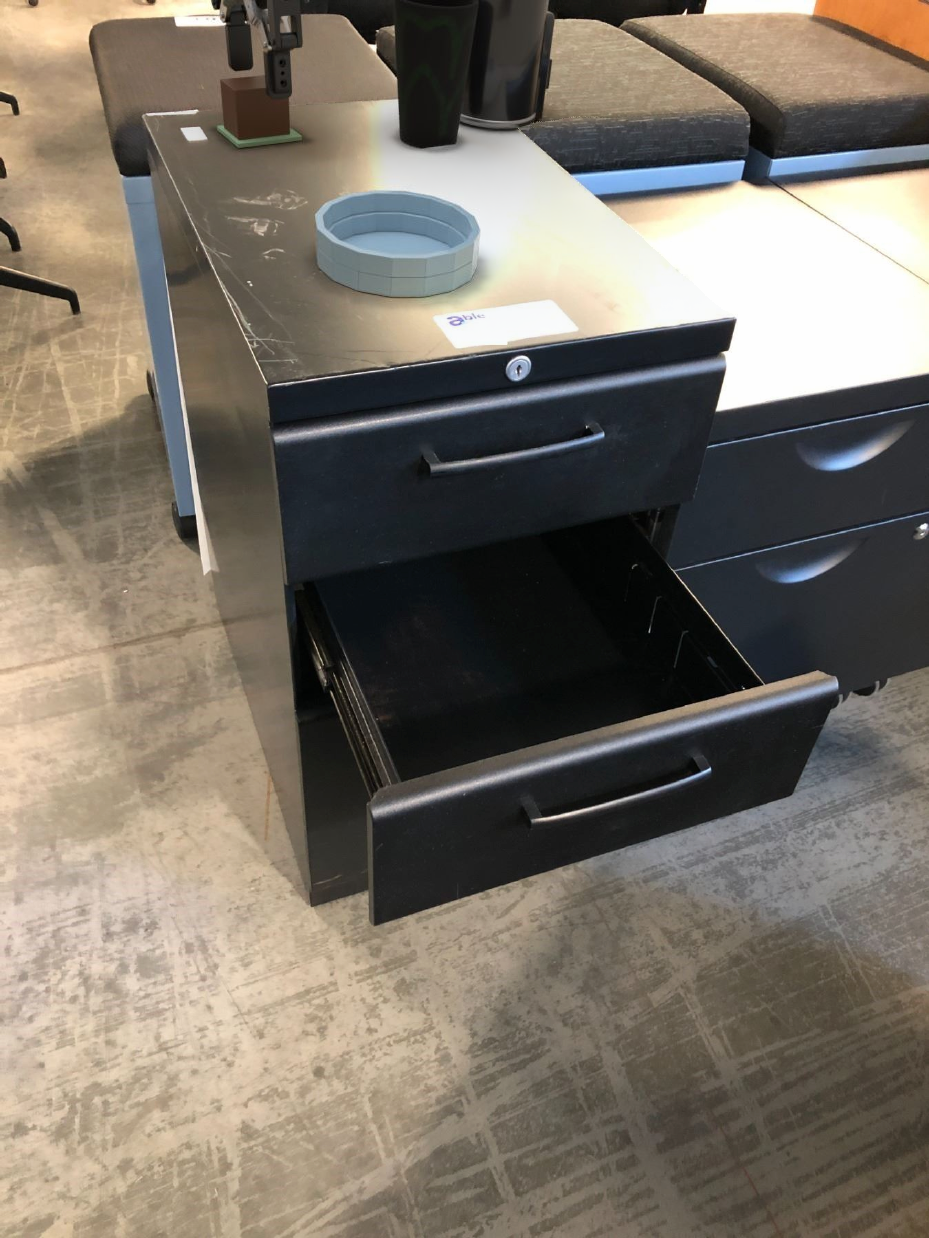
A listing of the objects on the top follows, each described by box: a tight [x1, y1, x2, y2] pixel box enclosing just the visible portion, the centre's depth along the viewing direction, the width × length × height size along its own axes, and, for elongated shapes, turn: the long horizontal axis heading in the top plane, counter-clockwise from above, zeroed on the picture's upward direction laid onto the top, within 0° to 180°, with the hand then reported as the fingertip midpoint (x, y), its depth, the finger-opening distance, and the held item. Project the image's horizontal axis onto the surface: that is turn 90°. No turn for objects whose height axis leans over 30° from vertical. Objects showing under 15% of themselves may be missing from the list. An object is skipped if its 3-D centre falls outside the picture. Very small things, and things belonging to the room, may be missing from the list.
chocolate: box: [219, 74, 291, 140], centre depth 89 cm, size 5×3×4 cm, turn 123°
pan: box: [314, 189, 481, 298], centre depth 72 cm, size 12×12×4 cm
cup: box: [392, 0, 479, 149], centre depth 90 cm, size 8×8×12 cm
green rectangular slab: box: [216, 124, 303, 149], centre depth 91 cm, size 6×5×1 cm
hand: (259, 83), depth 89 cm, fingers open, 8 cm apart
